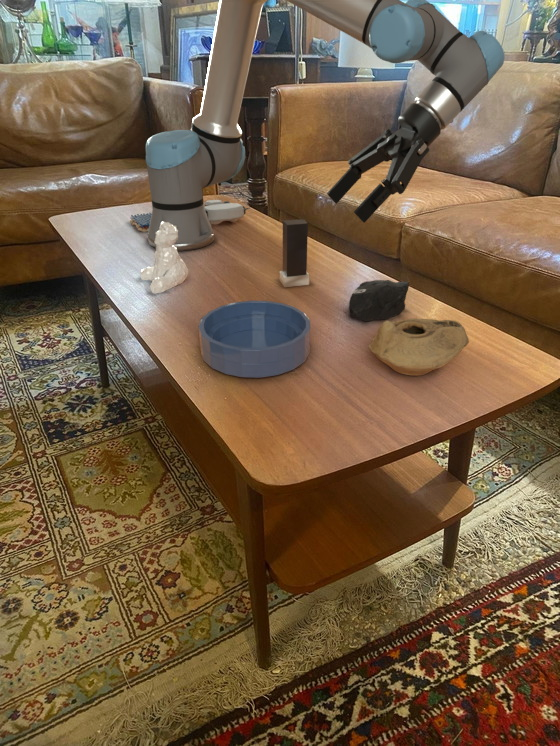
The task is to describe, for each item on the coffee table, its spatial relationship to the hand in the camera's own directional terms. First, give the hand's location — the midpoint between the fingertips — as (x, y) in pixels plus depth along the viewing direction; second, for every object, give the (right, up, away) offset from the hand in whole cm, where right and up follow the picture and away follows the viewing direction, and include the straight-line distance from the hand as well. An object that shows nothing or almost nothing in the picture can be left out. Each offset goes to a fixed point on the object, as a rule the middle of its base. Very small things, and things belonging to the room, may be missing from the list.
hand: (344, 207), depth 102 cm
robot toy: (-28, +9, +42) cm, 52 cm away
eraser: (-9, -13, +5) cm, 17 cm away
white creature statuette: (-34, -13, +5) cm, 37 cm away
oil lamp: (+8, -30, -22) cm, 38 cm away
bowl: (-16, -28, -19) cm, 37 cm away
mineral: (+4, -20, -6) cm, 22 cm away
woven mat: (-44, +7, +38) cm, 59 cm away
